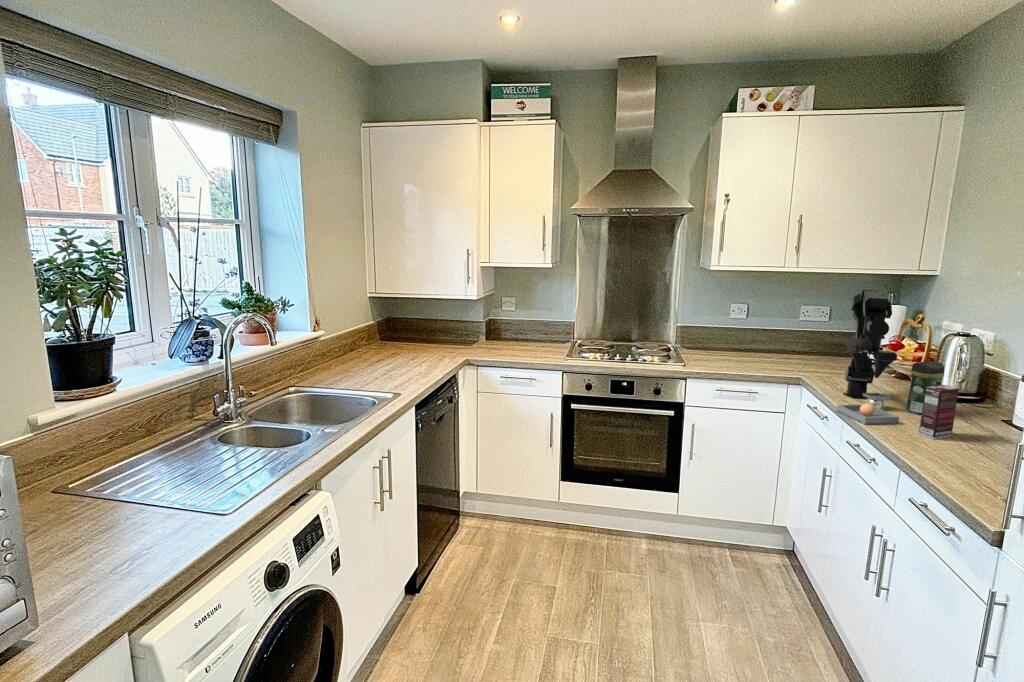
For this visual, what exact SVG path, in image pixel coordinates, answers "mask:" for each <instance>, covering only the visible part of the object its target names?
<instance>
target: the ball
mask: <svg viewBox="0 0 1024 682" xmlns="http://www.w3.org/2000/svg"><path fill="white" fill-rule="evenodd" d="M861 405H862V406H861V407H860V412H861V414H862V415H864V416H871V415H873V414H874V412H875V408H874V407H873V406H872V405H871V404H867V403H862V404H861Z"/></svg>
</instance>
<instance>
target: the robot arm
mask: <svg viewBox="0 0 1024 682" xmlns="http://www.w3.org/2000/svg"><path fill="white" fill-rule="evenodd" d="M850 311H851V312H852V313H851V317H853V319H854V321H855V326H856V327H855V339H853V340H849V341H847V342H845V347H844V350H845V351H846V352H847V354H848V355H850V356H851V357H852V359H851V361H850V362H849V364H848V366H847V367H846V371H845V373H844V374H845V375H844V380H845V381H846V382H847V389H846V392H842V395H845V396H847V397H850V398H852V399H867V397H865V396H863V393H868V392H867V391H868V384H870V385H871V384H872V383H873V382H874V378H875V379H878V378H879V377H880V376H881V375H882V373H883V372H884V371H885V370H886V369H887V368H888V366H889V365H890V364H891V363H894V361H897V360H898V354H897V353H896V352H895V351H891V350H884V347H882V340H885V339H886V338H885V337H886V335H887V334H888V333H889V331H890V327H889V324H888V322H886V321H885V320H886V319H891V317H892V315H893V306H892V304H891V300H889V298H888V297H881V296H879V294H878V292H877V290H875V289H861V290H860V292H859V293H858V294H857V295H855V296H854V297H853V298H852V300H851V304H850ZM869 355H872V357H873V358H872V359H870V357H869ZM873 363H874V368H873Z"/></svg>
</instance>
